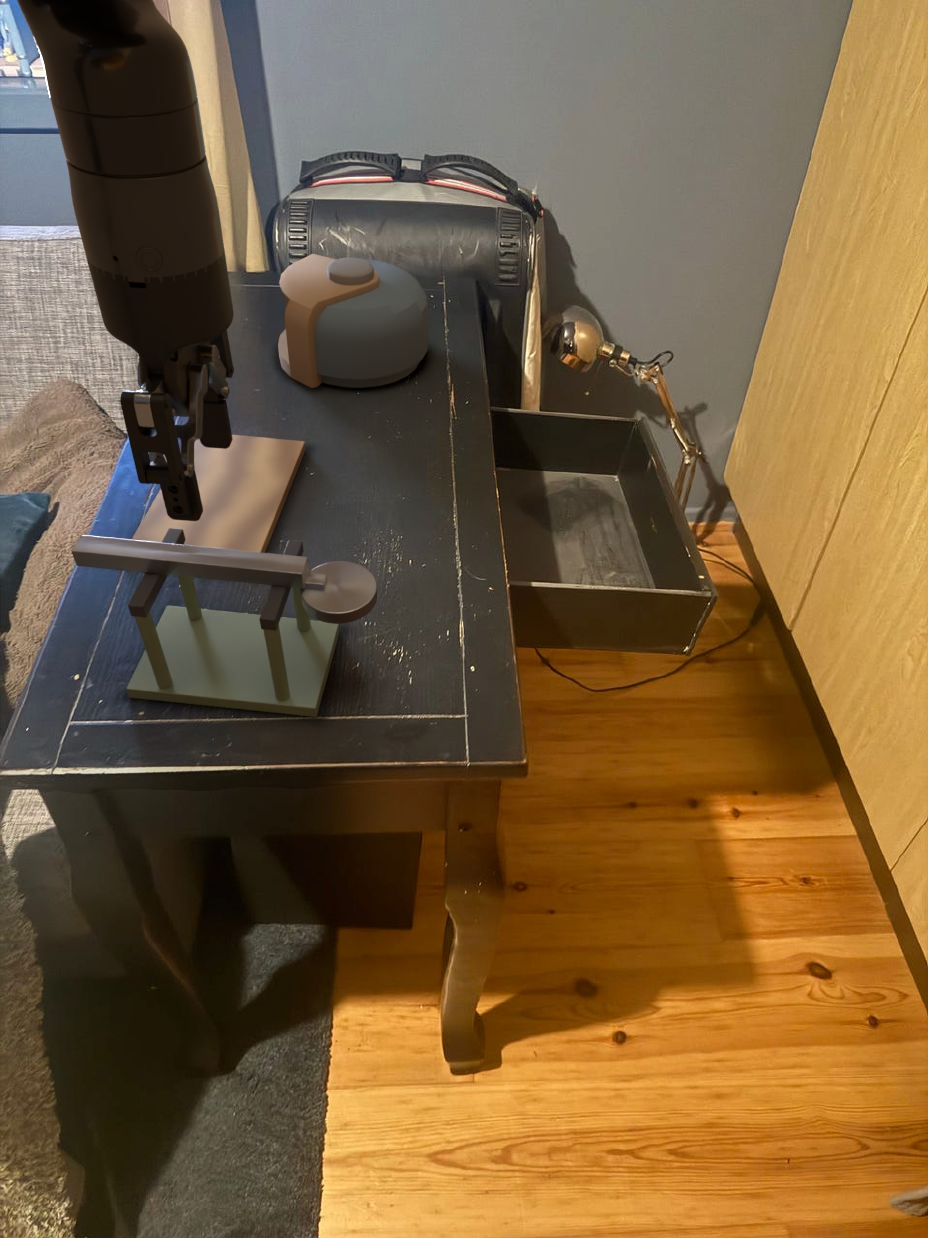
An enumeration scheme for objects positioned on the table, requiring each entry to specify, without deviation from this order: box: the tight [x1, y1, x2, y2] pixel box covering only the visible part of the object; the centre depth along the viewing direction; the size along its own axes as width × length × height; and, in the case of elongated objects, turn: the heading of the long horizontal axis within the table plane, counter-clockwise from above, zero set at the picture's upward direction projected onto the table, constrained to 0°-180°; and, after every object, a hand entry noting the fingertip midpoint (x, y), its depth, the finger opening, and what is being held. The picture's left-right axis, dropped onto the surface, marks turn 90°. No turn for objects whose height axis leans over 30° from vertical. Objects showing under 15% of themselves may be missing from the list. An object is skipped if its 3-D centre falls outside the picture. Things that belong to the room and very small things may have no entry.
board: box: [131, 434, 307, 553], centre depth 87 cm, size 13×22×1 cm, turn 175°
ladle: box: [70, 534, 378, 625], centre depth 64 cm, size 24×6×3 cm, turn 85°
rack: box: [125, 528, 340, 718], centre depth 68 cm, size 16×10×11 cm, turn 85°
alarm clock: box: [277, 253, 430, 389], centre depth 107 cm, size 19×20×12 cm
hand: (202, 479), depth 58 cm, fingers open, 8 cm apart
